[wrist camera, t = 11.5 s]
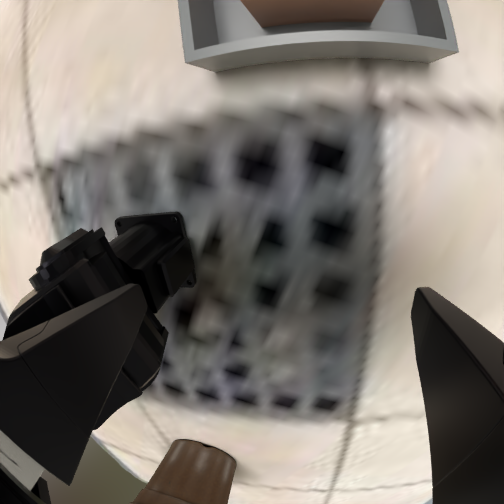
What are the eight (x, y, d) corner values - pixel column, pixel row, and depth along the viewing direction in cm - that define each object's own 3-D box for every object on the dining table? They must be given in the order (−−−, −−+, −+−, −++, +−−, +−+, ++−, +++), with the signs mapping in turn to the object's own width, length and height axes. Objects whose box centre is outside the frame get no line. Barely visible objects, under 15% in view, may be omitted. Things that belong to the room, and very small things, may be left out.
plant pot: (147, 434, 45) (114, 499, 31) (196, 427, 38) (158, 514, 24) (208, 471, 48) (185, 531, 34) (265, 467, 41) (244, 543, 27)
